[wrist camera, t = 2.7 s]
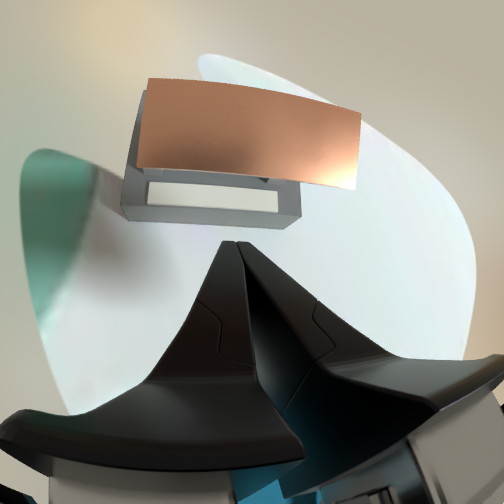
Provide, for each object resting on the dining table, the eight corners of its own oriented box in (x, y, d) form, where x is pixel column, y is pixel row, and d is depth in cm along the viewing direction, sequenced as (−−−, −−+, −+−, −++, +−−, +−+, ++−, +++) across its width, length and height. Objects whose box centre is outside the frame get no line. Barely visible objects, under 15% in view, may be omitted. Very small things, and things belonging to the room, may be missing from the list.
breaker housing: (283, 229, 19) (326, 199, 13) (128, 221, 17) (108, 182, 11) (279, 128, 21) (310, 79, 15) (145, 116, 18) (141, 57, 12)
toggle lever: (266, 179, 16) (354, 189, 7) (163, 171, 14) (136, 167, 6) (270, 141, 15) (361, 113, 7) (167, 131, 14) (148, 78, 5)
